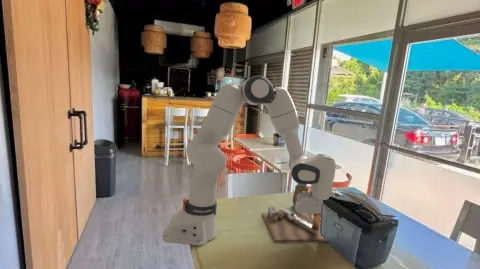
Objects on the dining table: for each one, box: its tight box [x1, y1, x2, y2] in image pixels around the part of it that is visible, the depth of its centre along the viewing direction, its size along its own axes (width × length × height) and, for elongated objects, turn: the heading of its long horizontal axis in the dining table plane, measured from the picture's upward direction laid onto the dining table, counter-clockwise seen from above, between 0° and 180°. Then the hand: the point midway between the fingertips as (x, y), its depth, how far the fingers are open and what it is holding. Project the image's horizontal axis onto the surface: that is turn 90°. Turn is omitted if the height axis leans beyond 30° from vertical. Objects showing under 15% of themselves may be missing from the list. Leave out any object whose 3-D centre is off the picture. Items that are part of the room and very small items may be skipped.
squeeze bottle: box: [292, 183, 309, 208], centre depth 141 cm, size 8×8×18 cm
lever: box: [279, 207, 322, 234], centre depth 122 cm, size 4×22×9 cm, turn 38°
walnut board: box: [261, 206, 325, 244], centre depth 120 cm, size 24×23×6 cm
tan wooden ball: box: [277, 210, 283, 219], centre depth 126 cm, size 4×4×4 cm
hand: (316, 222), depth 115 cm, fingers closed on lever, 3 cm apart
